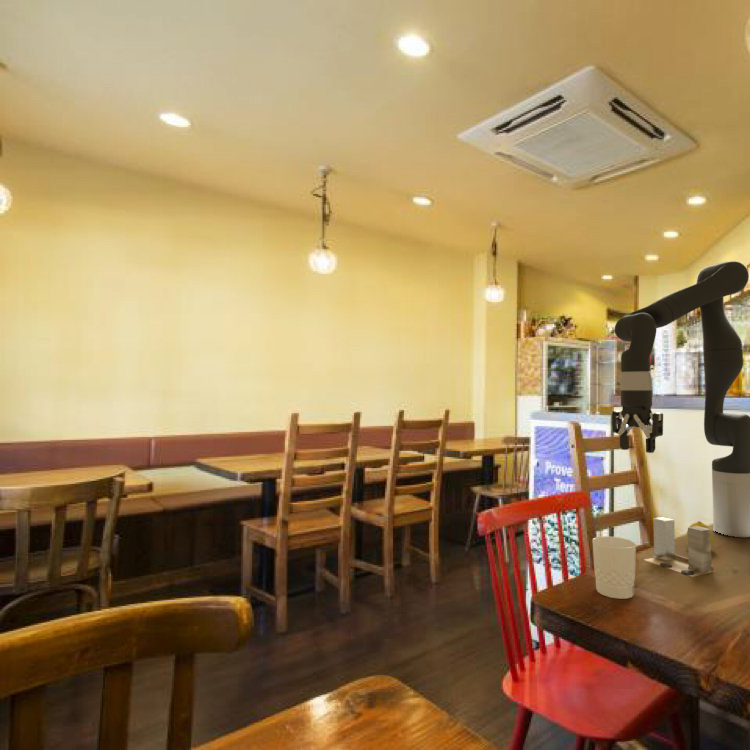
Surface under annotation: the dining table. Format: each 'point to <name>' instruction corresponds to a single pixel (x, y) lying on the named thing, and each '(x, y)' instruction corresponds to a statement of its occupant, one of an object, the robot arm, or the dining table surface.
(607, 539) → the white cup
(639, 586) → the dining table surface
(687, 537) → the lemon
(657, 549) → the block
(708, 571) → the gauge board
